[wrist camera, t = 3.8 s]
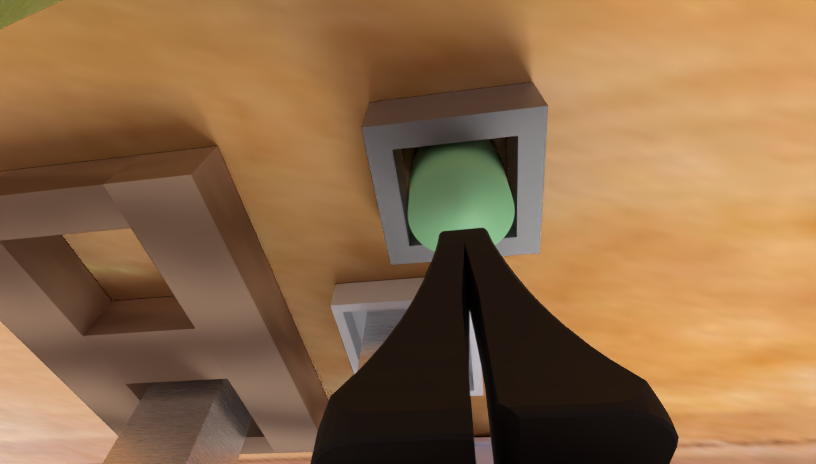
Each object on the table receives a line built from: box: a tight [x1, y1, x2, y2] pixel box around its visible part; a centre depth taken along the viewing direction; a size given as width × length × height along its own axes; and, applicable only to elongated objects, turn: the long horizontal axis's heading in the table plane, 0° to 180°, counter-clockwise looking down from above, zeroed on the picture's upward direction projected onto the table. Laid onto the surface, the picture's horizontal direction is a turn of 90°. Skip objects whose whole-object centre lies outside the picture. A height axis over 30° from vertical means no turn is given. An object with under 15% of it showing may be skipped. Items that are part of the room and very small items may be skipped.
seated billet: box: [103, 379, 253, 464], centre depth 24 cm, size 4×4×7 cm
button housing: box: [361, 82, 548, 265], centre depth 16 cm, size 6×6×2 cm
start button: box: [408, 139, 515, 252], centre depth 16 cm, size 4×4×3 cm
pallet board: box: [0, 146, 328, 454], centre depth 23 cm, size 20×13×2 cm, turn 8°
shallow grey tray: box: [330, 277, 483, 396], centre depth 23 cm, size 8×7×2 cm
